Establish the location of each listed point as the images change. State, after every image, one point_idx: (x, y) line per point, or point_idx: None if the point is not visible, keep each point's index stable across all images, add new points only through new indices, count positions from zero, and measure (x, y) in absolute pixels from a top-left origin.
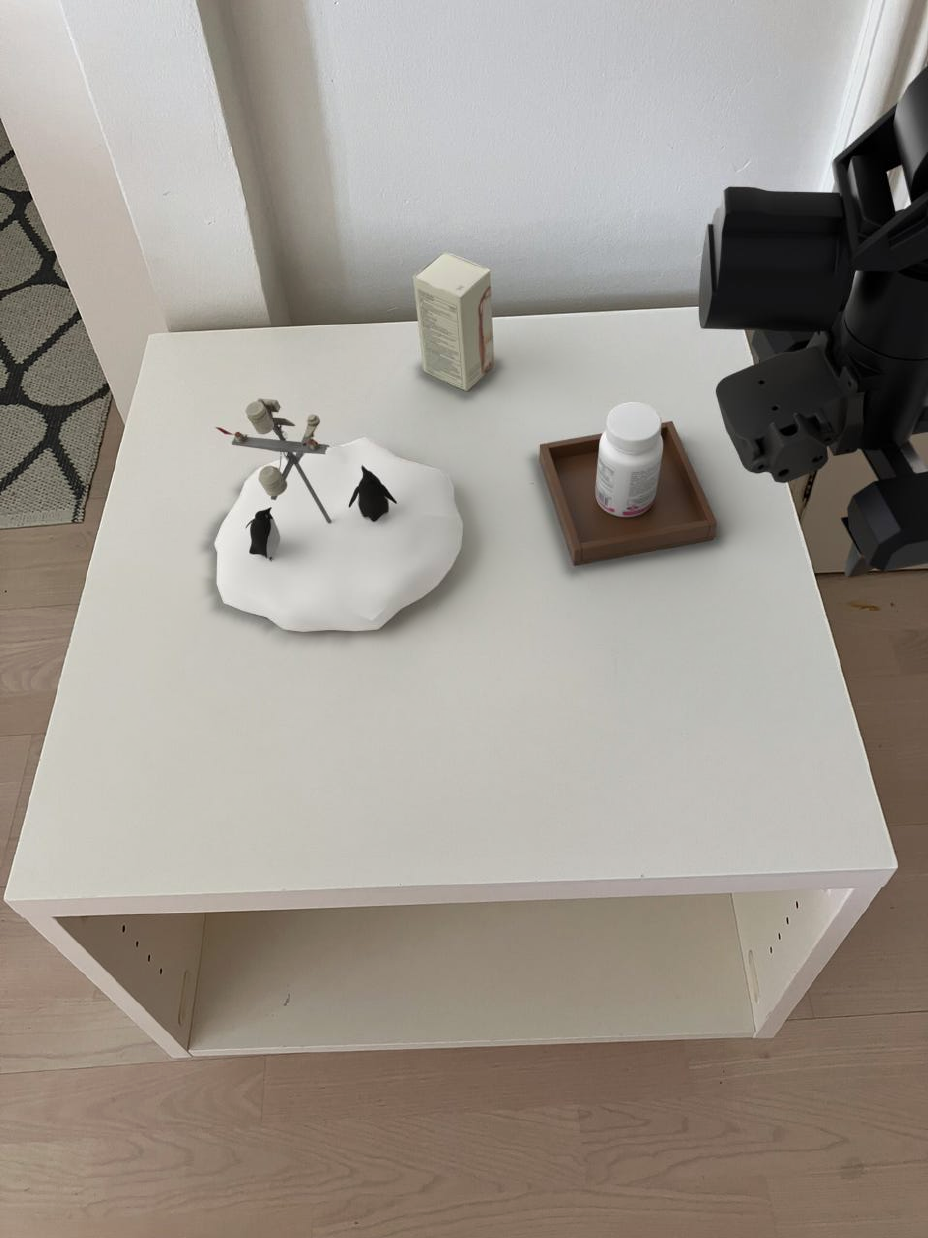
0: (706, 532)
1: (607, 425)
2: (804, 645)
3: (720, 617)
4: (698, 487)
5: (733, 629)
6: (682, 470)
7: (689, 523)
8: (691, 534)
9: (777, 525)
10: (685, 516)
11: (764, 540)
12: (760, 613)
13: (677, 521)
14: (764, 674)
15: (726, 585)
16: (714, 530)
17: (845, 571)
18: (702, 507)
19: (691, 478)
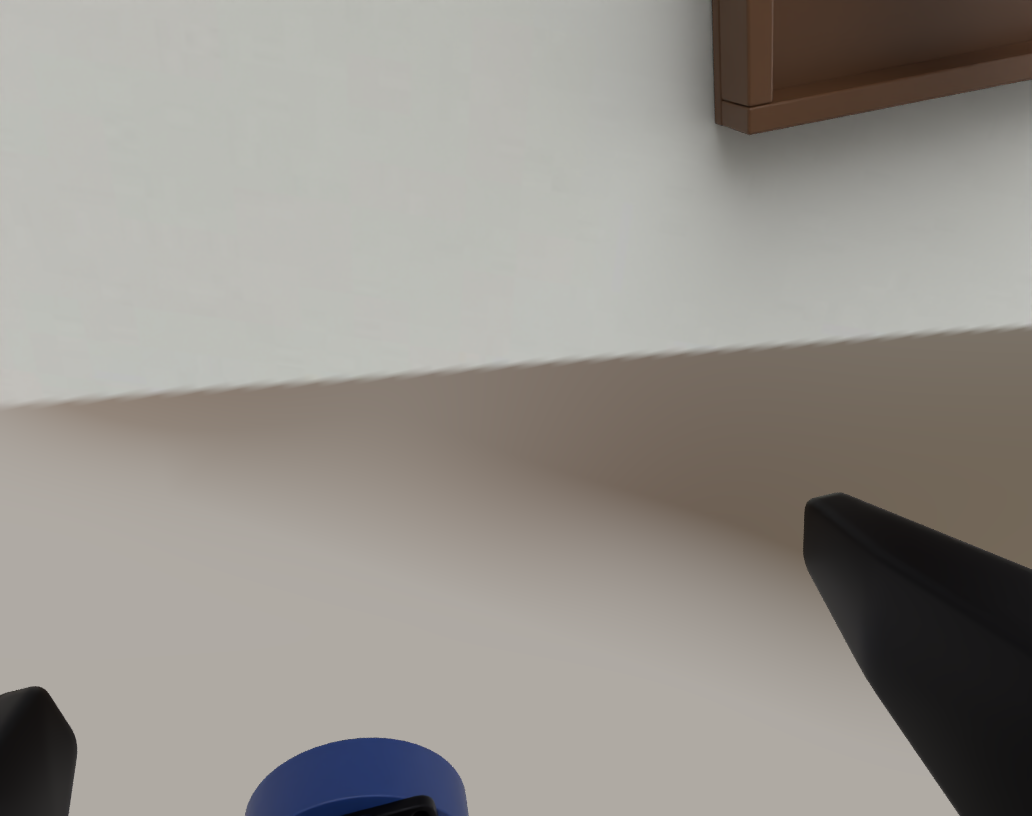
0: (732, 95)
1: None
2: (317, 331)
3: (416, 95)
4: (908, 93)
5: (369, 131)
6: (992, 53)
7: (772, 31)
8: (734, 38)
9: (726, 319)
10: (817, 38)
11: (684, 276)
12: (429, 225)
13: (804, 4)
14: (201, 202)
15: (539, 136)
16: (734, 124)
17: (11, 706)
18: (826, 93)
19: (950, 73)
